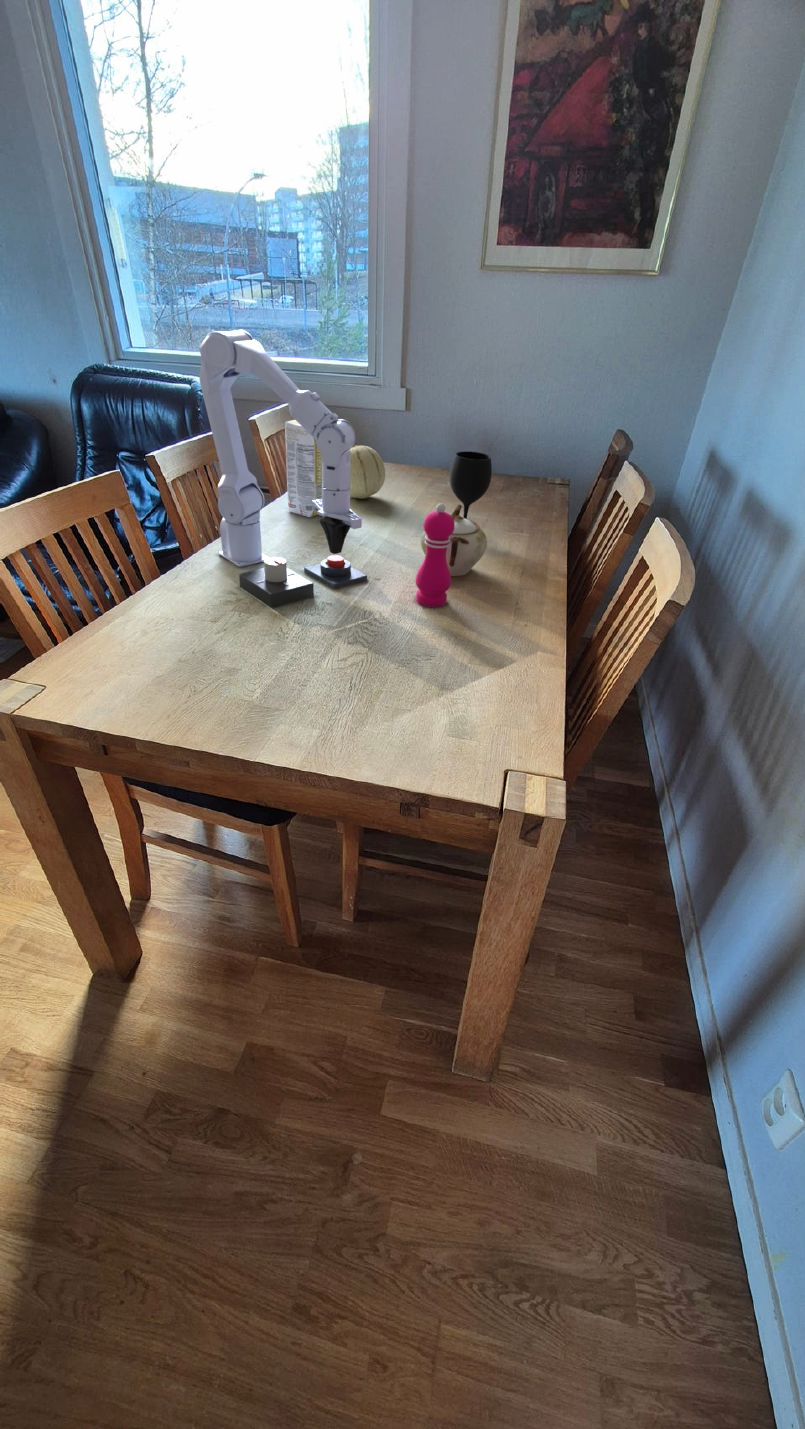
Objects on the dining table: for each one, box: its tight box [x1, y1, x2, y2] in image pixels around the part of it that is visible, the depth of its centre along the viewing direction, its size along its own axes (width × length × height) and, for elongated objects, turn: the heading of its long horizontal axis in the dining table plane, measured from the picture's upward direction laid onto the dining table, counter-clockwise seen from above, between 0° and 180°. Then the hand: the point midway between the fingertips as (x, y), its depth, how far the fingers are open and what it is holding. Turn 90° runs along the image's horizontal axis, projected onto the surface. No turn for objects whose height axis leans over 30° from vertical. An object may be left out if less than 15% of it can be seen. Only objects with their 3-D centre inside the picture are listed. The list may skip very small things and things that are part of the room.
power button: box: [326, 554, 345, 567], centre depth 133 cm, size 4×4×2 cm
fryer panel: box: [238, 567, 315, 609], centre depth 125 cm, size 12×10×3 cm
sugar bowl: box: [420, 503, 488, 577], centre depth 139 cm, size 20×15×15 cm
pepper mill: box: [415, 503, 455, 608], centre depth 122 cm, size 7×7×20 cm
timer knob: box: [263, 556, 288, 582], centre depth 123 cm, size 4×4×4 cm
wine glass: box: [449, 450, 493, 519], centre depth 157 cm, size 10×10×20 cm
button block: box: [303, 558, 368, 590], centre depth 134 cm, size 11×9×3 cm
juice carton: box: [284, 419, 322, 518], centre depth 163 cm, size 9×8×24 cm
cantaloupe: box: [345, 443, 386, 500], centre depth 180 cm, size 15×15×15 cm
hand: (335, 552), depth 132 cm, fingers closed
